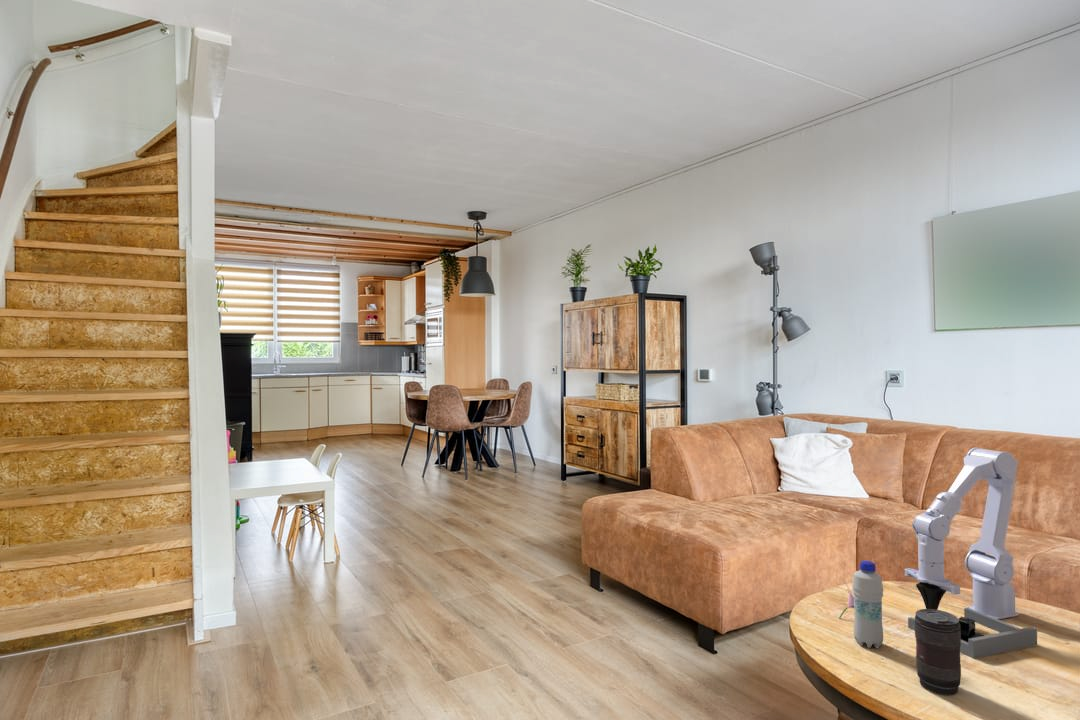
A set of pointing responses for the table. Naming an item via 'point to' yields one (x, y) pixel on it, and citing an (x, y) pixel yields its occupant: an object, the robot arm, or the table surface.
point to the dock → (993, 636)
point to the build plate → (968, 629)
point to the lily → (849, 601)
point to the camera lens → (938, 651)
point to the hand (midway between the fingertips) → (931, 612)
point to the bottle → (868, 605)
